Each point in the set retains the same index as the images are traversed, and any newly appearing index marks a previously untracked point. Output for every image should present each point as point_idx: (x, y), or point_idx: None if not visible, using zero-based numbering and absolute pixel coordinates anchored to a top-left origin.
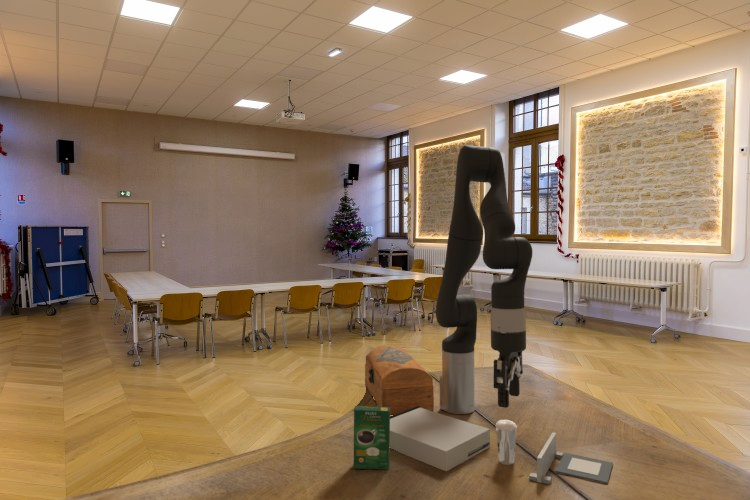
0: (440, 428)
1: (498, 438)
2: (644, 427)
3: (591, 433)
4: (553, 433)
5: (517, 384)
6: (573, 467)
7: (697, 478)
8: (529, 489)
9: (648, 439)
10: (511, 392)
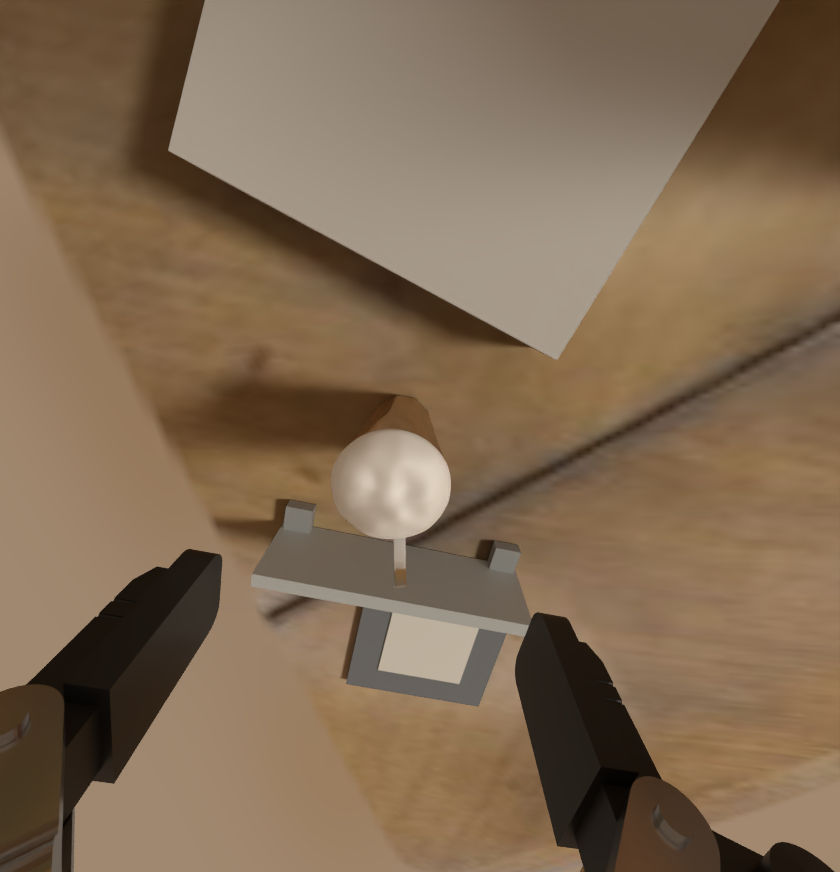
0: (505, 25)
1: (365, 426)
2: (767, 793)
3: (710, 675)
4: (519, 629)
5: (546, 776)
6: (408, 619)
7: (449, 825)
8: (225, 500)
9: None
10: (537, 643)
